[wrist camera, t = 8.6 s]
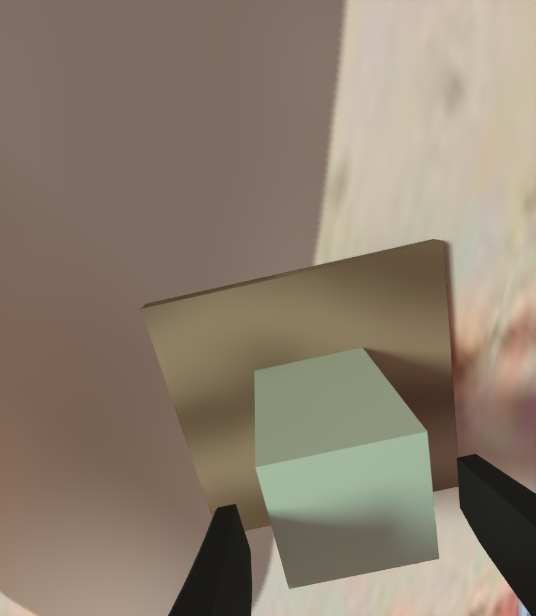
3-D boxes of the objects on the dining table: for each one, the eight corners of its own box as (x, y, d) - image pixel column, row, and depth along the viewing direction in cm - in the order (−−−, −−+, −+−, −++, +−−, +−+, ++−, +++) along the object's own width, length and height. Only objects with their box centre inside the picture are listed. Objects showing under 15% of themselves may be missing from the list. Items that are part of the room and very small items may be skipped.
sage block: (375, 438, 17) (438, 559, 11) (276, 459, 17) (288, 588, 11) (362, 347, 15) (427, 431, 10) (254, 370, 16) (255, 467, 10)
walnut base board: (451, 474, 19) (459, 486, 18) (220, 522, 19) (218, 536, 18) (433, 239, 15) (443, 241, 14) (146, 303, 15) (140, 308, 15)
